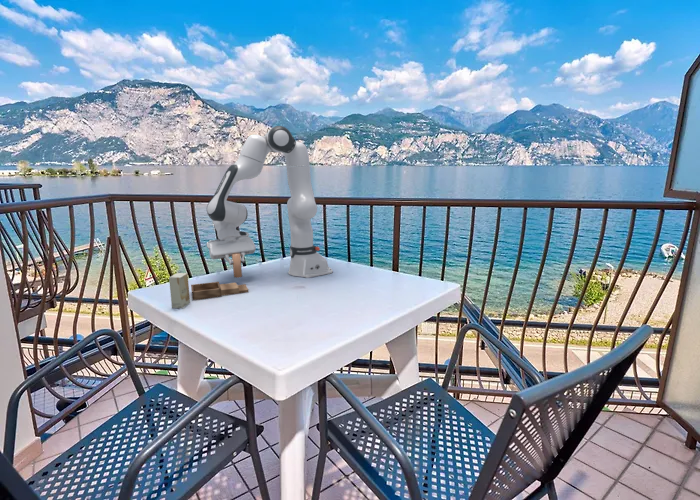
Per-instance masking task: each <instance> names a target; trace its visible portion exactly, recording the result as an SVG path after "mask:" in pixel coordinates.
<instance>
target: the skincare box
mask: <svg viewBox="0 0 700 500" xmlns="http://www.w3.org/2000/svg"><path fill="white" fill-rule="evenodd" d="M168 280H169V281H168V282H169V289H170V291H169V292H170V302H171V309H184V308H186V306H188V305H190V304H191V299H190V288H189V287H190V285H189V276H188V272H187V273H185V272H177V273H174V274H173V275H171V276H170V277H169V278H168Z"/></svg>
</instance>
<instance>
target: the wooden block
mask: <svg viewBox="0 0 700 500" xmlns="http://www.w3.org/2000/svg"><path fill="white" fill-rule="evenodd" d="M241 258H242V257H241V255H240V253H234V254H232V257H231V260H232V259H233V265H232V270H233V271H232V272H233V278H237V279H238V278H241V277H243V271H242V270H243V268H242V263H241Z"/></svg>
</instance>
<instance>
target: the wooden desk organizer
mask: <svg viewBox="0 0 700 500" xmlns="http://www.w3.org/2000/svg"><path fill="white" fill-rule="evenodd" d="M190 287H191V296H192V297H191V300H192V301H199V300H206V299H207V300H209V299H215V298H222V297H223V296H231V295H232V296H233V295H238V294H240V295H241V294H247V293H249V291H250V290H249V288H248V286H247V284H245V283H244V284H243V283H242V284H237V282H229V283H221V284H220V281H212V282H204V283H194V284H193V283H192V284H190Z"/></svg>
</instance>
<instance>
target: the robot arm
mask: <svg viewBox="0 0 700 500" xmlns="http://www.w3.org/2000/svg"><path fill="white" fill-rule="evenodd" d="M270 153H281V154H283V155H284V157H285V163H286V164H285V165H286V175H287V185H288V187H289V189H288V190H289V192H290V196H291V197H289V198H288V200H287V204H286V207H287V208H286V209H287V215H288V216H287V217H288V222H289V228H290V229H289V230H290V245H289V257H290V261H289V262H290V263H289V268H288V272H287V273H288V274H289V275H290V276H293V277H300V278H301V277H302V278H307V279H308V278H309V279H310V278H314V277H318V276H323V275H324V276H325V275H329V274H333V268H331V267H330V266H329V263H328V260H327V259H326V258H325V257H324V256H323V255H322V254H320V253H319V251H320V250H321V248H320V247H319V246H316V245H314V229H313V226H312V221H311V219H313V218H314V217H315V216H316V214H317V212H318V206H317V203H316V199H315V196H314V189H313V186H312V179H311V178H312V177H311V176H312V175H311V166H310V164H311V163H310V157H309V152H308V147H307V146H306V145H305V143H303V142H300V141H296V139H295V137H294V136H293V134H292V132H291V131H290V130H289V128H287V127H286V126H283V125H276V126H275V125H274V127H271V128H270V129H269V130H268V131H267V132H266V133H265V134H264V135H259V134H251V135H248V137H247V138H246V140H245V141H244V144H243V146H242V149H241V151H240V154H239V157H238V159H237V160H236V161H235V162H234V164H231V165H230V166H229V167H227V169H226V171H225V172H224V174H223V176H222V179H221V180H220V183H219V184H218V187H217V189H216V191H215V192H214V195H213V196H212V197H211V199H210V200H209V201H208V204H207V206H206V214H207V215H208V217H209V219H210V220H211V221H212V223H213V225H214V226H213V227H214V229H215V231H216V233H217V239H210V240H208V241H207V242H206V247H207V249H208V251H209V257H210V259H212V260H220V259H224V260H225V261H227V262H228V264H229V265H230V266H231V265H232V266H233V259H232V254H234V253H240V256H241V264H244V263H246V262H245V255H252V254H254V253H255V252H256V250H257V249H256V244H255V243H254V240H253V239H252V237H250V236H249V232H248V231H243V230H238V229H237V228H239V227H240V226H241V225H243V223H245V222H246V221H247V219H248V215H249V214H248V210H247V207H246V205H244V204H241V203H239V202H238V203H237V202H234V201H229V200H227V199H228V197H229V196H230V194H231V192H232V190H233V187H234V185H236V183H237V182H239V181H243V180H251V179H255V178H256V177H259V175H260V174H261V173H262V170H263V168H264V165H265V162H266V159H267V156H268V155H269V154H270Z"/></svg>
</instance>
